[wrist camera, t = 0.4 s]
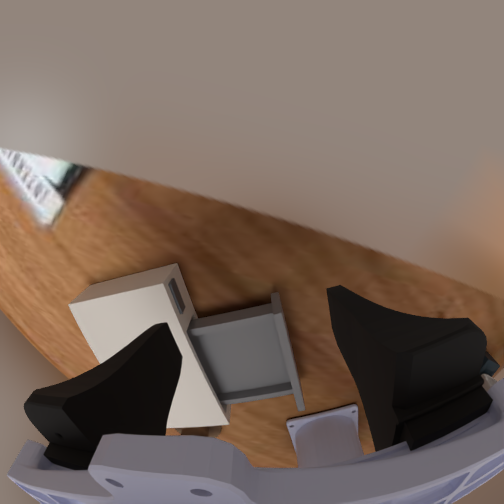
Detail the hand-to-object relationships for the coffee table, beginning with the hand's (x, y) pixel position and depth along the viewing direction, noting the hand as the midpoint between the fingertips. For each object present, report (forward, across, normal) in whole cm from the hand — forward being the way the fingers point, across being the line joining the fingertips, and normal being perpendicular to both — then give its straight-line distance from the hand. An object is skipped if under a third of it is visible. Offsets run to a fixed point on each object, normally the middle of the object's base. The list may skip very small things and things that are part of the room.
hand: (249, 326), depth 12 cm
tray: (+9, +3, +8) cm, 13 cm away
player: (+10, +10, +7) cm, 16 cm away
